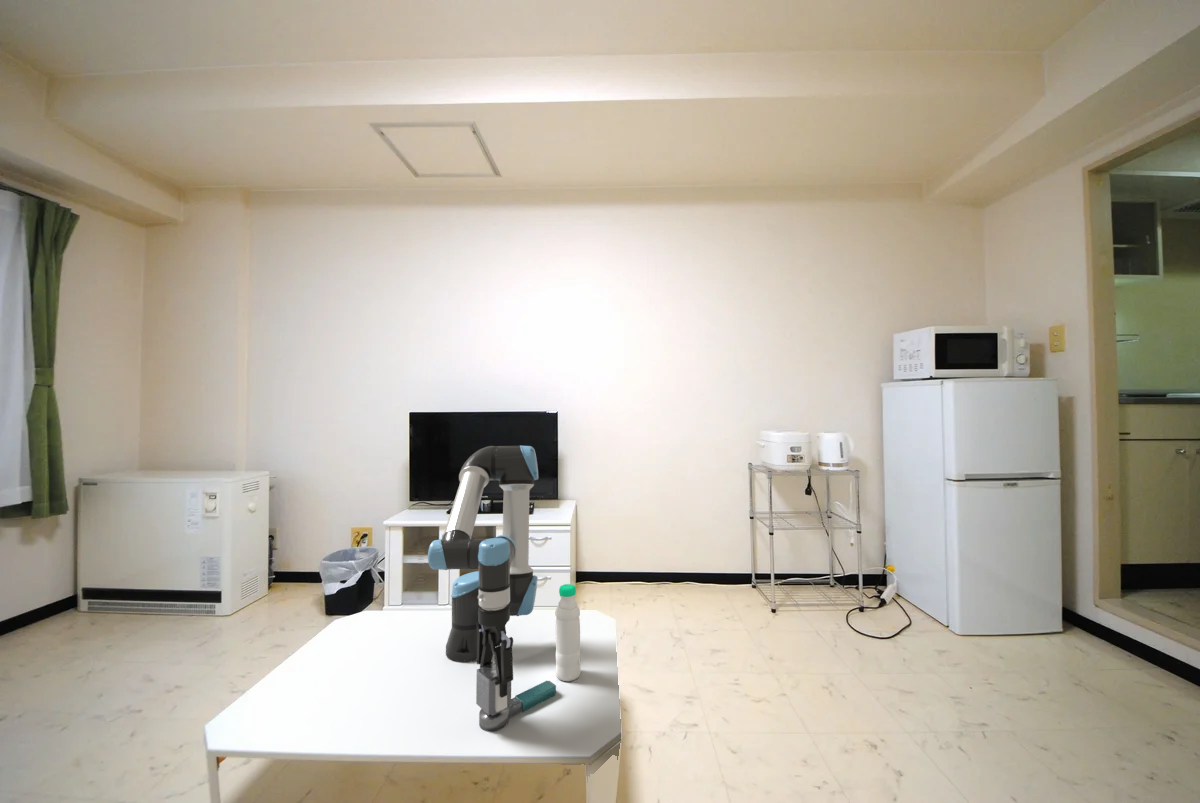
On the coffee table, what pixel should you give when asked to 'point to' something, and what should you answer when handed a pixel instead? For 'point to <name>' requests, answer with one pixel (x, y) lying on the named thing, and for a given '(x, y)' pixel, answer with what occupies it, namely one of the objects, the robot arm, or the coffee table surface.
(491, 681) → the grey metal block
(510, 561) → the robot arm
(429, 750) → the coffee table surface
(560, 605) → the water bottle
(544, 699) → the ratchet
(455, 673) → the coffee table surface
